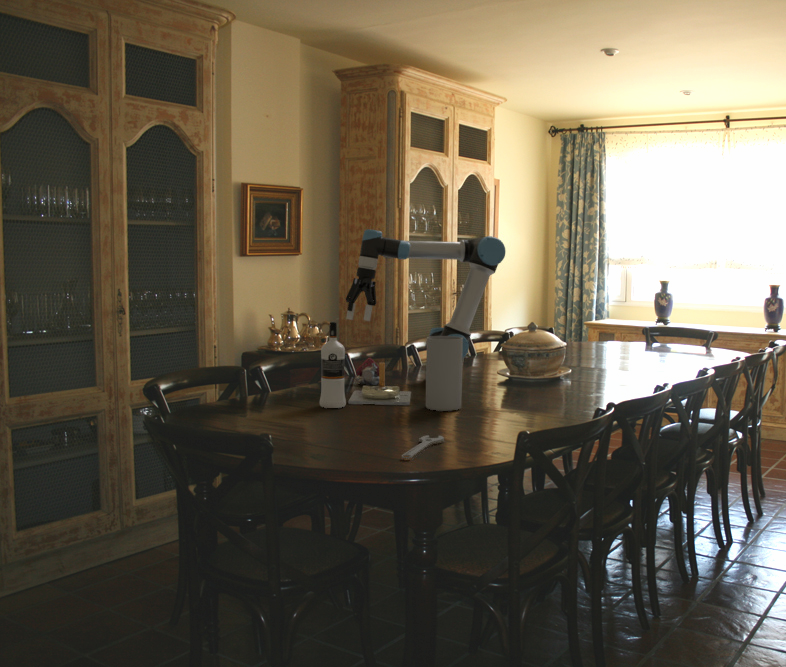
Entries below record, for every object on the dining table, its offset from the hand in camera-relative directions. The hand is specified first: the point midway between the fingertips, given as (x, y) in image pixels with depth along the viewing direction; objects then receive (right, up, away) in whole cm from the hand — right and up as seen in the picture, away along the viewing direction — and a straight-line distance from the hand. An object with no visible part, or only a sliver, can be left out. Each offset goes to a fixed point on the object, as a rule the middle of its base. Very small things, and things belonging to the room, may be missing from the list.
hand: (358, 320), depth 297 cm
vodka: (-7, -31, -38) cm, 50 cm away
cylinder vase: (+32, -32, -39) cm, 60 cm away
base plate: (+10, -30, -23) cm, 39 cm away
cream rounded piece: (+10, -29, -23) cm, 38 cm away
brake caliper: (+4, -27, +11) cm, 29 cm away
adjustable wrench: (+21, -38, -96) cm, 105 cm away
